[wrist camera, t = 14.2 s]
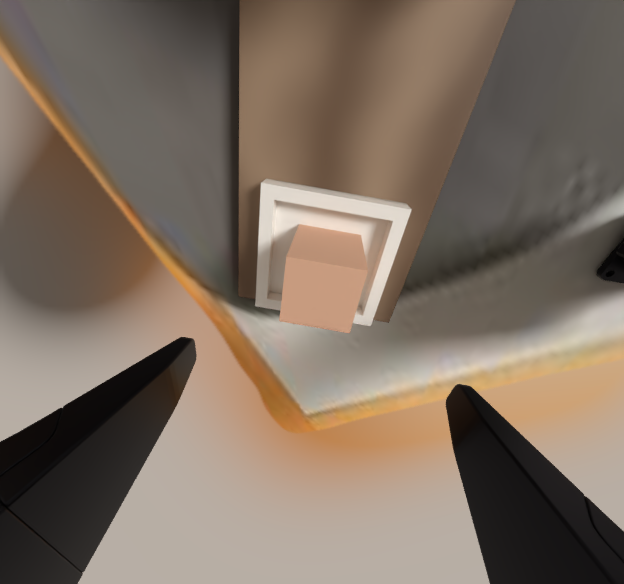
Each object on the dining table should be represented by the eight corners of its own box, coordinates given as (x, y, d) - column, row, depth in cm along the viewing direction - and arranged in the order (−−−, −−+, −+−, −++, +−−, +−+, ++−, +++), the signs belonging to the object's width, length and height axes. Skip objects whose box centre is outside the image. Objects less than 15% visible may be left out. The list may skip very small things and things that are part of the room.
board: (719, -566, 7) (786, -686, 6) (386, 313, 22) (388, 322, 21) (257, -662, 7) (242, -801, 6) (243, 288, 22) (238, 296, 21)
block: (360, 234, 17) (368, 271, 13) (347, 287, 19) (349, 333, 15) (299, 224, 17) (286, 256, 13) (292, 277, 19) (279, 321, 15)
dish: (406, 203, 16) (411, 209, 15) (368, 314, 21) (370, 326, 20) (266, 178, 16) (260, 182, 15) (260, 295, 21) (255, 306, 20)
